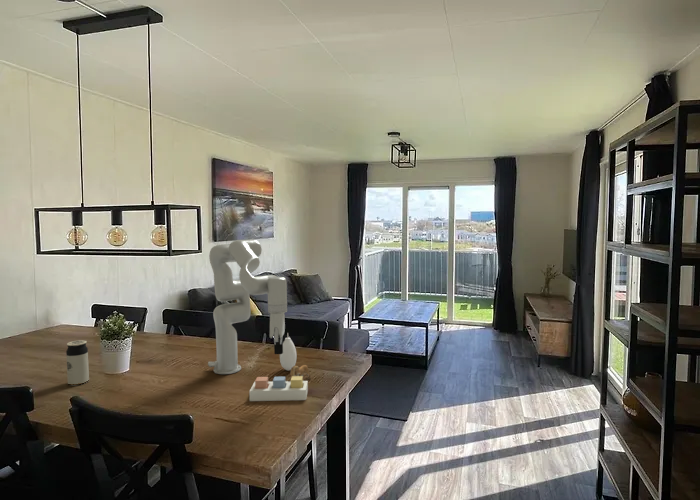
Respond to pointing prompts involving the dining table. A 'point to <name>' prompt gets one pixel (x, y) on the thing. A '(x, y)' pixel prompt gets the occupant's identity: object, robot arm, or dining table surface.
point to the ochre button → (296, 381)
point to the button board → (279, 392)
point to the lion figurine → (299, 371)
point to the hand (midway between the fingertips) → (278, 353)
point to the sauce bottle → (288, 354)
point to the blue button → (279, 382)
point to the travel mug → (77, 362)
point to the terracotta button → (261, 383)
